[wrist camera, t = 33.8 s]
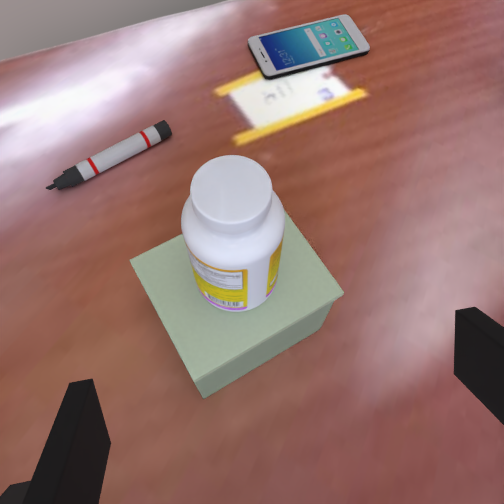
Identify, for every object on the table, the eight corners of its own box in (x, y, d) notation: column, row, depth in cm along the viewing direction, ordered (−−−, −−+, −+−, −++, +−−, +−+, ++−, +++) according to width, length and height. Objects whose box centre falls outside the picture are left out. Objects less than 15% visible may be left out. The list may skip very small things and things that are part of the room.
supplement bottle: (254, 228, 40) (259, 125, 28) (291, 293, 37) (312, 210, 25) (182, 258, 38) (155, 164, 27) (215, 328, 36) (201, 258, 24)
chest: (259, 239, 49) (262, 198, 42) (320, 329, 45) (334, 300, 38) (149, 297, 46) (131, 264, 39) (203, 399, 42) (194, 383, 35)
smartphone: (372, 48, 61) (266, 76, 58) (370, 54, 61) (265, 81, 59) (348, 12, 64) (246, 37, 61) (346, 18, 64) (246, 42, 62)
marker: (164, 128, 56) (161, 116, 54) (173, 138, 55) (170, 127, 53) (46, 188, 52) (39, 178, 50) (53, 201, 51) (47, 191, 49)
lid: (269, 194, 42) (269, 189, 41) (342, 295, 38) (344, 292, 37) (131, 263, 39) (129, 259, 38) (194, 383, 35) (193, 381, 34)
